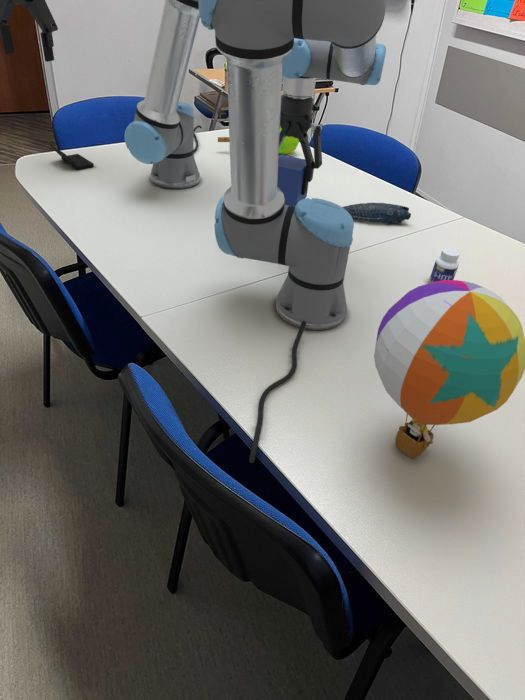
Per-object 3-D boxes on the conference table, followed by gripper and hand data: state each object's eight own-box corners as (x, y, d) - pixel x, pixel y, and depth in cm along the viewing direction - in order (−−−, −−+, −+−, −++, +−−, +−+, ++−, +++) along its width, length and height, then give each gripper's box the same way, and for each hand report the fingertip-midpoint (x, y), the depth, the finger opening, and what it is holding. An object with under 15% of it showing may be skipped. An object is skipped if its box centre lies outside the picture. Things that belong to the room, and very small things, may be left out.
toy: (324, 440, 84) (359, 279, 65) (398, 390, 94) (447, 240, 76) (424, 525, 73) (502, 362, 54) (495, 458, 83) (581, 302, 65)
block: (306, 197, 139) (311, 160, 133) (296, 208, 133) (300, 170, 127) (277, 190, 141) (280, 154, 135) (265, 201, 135) (268, 164, 129)
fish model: (409, 228, 149) (414, 212, 146) (336, 220, 150) (339, 204, 147) (407, 219, 154) (411, 203, 151) (336, 211, 155) (339, 195, 152)
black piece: (98, 159, 169) (76, 137, 160) (86, 177, 167) (64, 156, 159) (77, 155, 175) (55, 133, 167) (66, 172, 174) (43, 151, 165)
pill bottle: (427, 286, 124) (438, 253, 119) (429, 276, 128) (440, 244, 122) (450, 292, 123) (461, 259, 117) (451, 281, 127) (463, 249, 121)
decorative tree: (215, 117, 188) (295, 117, 193) (215, 147, 195) (292, 146, 200) (221, 131, 174) (307, 131, 180) (221, 163, 181) (304, 161, 186)
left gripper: (63, -35, 128) (76, 61, 141) (-16, -45, 134) (4, 48, 148) (41, -35, 122) (57, 66, 135) (-39, -46, 129) (-17, 51, 142)
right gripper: (345, 99, 121) (330, 193, 136) (261, 85, 127) (255, 176, 141) (337, 106, 116) (322, 203, 130) (249, 90, 121) (244, 185, 135)
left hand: (29, 57), depth 142 cm, fingers open, 13 cm apart
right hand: (287, 189), depth 135 cm, fingers closed on block, 8 cm apart
